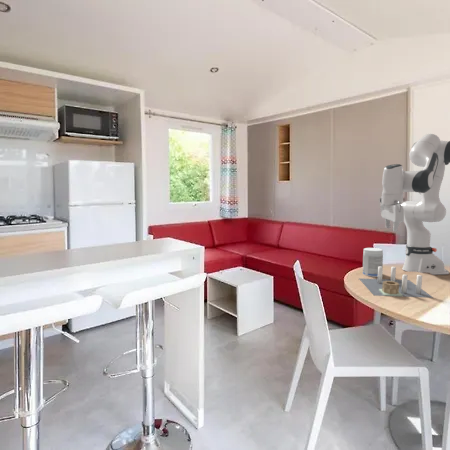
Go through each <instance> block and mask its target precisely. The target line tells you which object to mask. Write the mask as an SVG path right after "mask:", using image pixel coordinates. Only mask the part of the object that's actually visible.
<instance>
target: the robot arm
mask: <svg viewBox="0 0 450 450" xmlns="http://www.w3.org/2000/svg"><path fill="white" fill-rule="evenodd" d="M408 157H409V160H410V161H411V163H413V164H414V165H415V166H417V167H422V169H421V170H407V171H406V170H404V167H403V165H402V164H398V163H396V164H388V165H386V166H385V167H384V168H383V172H382V179H381V180H382V181H381V185H382V191H381V197H380V198H379V199H378V200H379V204H380V208H379V209H380V216H381V218H382V219H384V223H385V228H386V229H390V228H391V222H392V225H393V226H392V231H393V232H398V231H399V227H400V224H401V223H404V225H405V228H406V232H407V233H406V234H407V236H406V245H405V250H404V251H405V253H404V254H405V258H404V263H403V266H402V268H401V269H402V270H403V271H405V272H410V273H411V272H412V273H413V272H414V273H415V272H416V273H421V274H425V273H427V274H430V275H432V276H433V275H435V276H436V275H449V274H450V271H449V270H448V269H446V268H445V262H444V261H443V260H442V259H441V258H440V257H438V256H437V255H435V254H434V253H436V252H437V251H438V249H437V248H435V247H432V246H431V232H430V230H429V229H427V228H426V227H425V225H424V223H437V222H441V221H443V220H444V219H445V218H446V215H447V210H446V207H445V205H444V204H443V203H442V202H441V200H440V191H441V186H442V183H443V180H444V177H445V171H446V166H448V165H450V140H449V141H448V140H441V139H440V137H439V136H438V135H436V134H435V133H434V134H433V133H428V134H427V133H426V134H425V135H423V136H422V137H420V138H419V139H418V140H417V141H416V142H414V143H413V144H412V146H411V149H410V151H409V155H408ZM404 193H418V195H421V199H420V200H406V201H404ZM423 222H424V223H423Z"/></svg>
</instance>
